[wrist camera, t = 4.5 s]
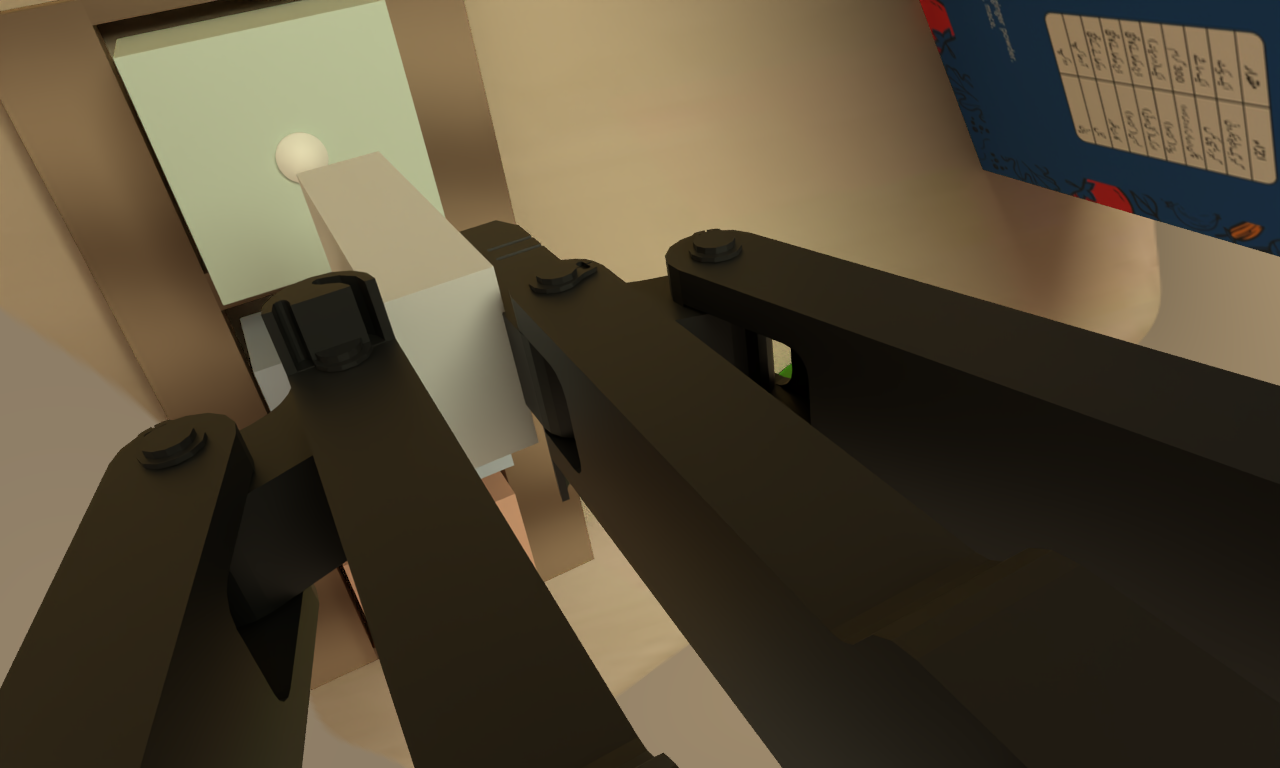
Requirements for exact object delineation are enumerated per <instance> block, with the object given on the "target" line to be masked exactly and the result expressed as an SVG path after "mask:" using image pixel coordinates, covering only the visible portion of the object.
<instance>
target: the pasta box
mask: <svg viewBox="0 0 1280 768" xmlns="http://www.w3.org/2000/svg"><path fill="white" fill-rule="evenodd" d="M919 1H920V3H921V6H922V9H923V11H924V14H925V17H926V19H927V22H928V25H929V27H930V30H931V33H932V35H933V38H934V41H935V43H936V46H937V49H938V51H939V54H940V57H941V59H942V62H943V65H944V67H945V70H946V73H947V75H948V78H949V80H950V83H951V86H952V88H953V91H954V94H955V96H956V99H957V102H958V104H959V107H960V110H961V112H962V115H963V118H964V120H965V123H966V126H967V128H968V131H969V134H970V136H971V139H972V142H973V144H974V147H975V150H976V152H977V155H978V158H979V160H980V163H981V166H982V168H983V170H986V171H989V172H993V173H996V174H1000V175H1003V176H1006V177H1010V178H1013V179H1017V180H1020V181H1024V182H1027V183H1030V184H1034V185H1037V186H1041V187H1044V188H1047V189H1051V190H1054V191H1058V192H1061V193H1064V194H1068V195H1071V196H1075V197H1078V198H1082V199H1085V200H1088V201H1092V202H1095V203H1099V204H1102V205H1105V206H1109V207H1112V208H1116V209H1119V210H1122V211H1126V212H1129V213H1133V214H1136V215H1140V216H1143V217H1146V218H1150V219H1153V220H1157V221H1160V222H1164V223H1167V224H1170V225H1174V226H1177V227H1180V228H1184V229H1187V230H1191V231H1194V232H1198V233H1201V234H1205V235H1208V236H1211V237H1215V238H1218V239H1222V240H1225V241H1228V242H1232V243H1235V244H1238V245H1242V246H1245V247H1249V248H1253V249H1256V250H1259V251H1262V252H1266V253H1269V254H1273V255H1276V256H1279V257H1280V0H919Z"/></svg>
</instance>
